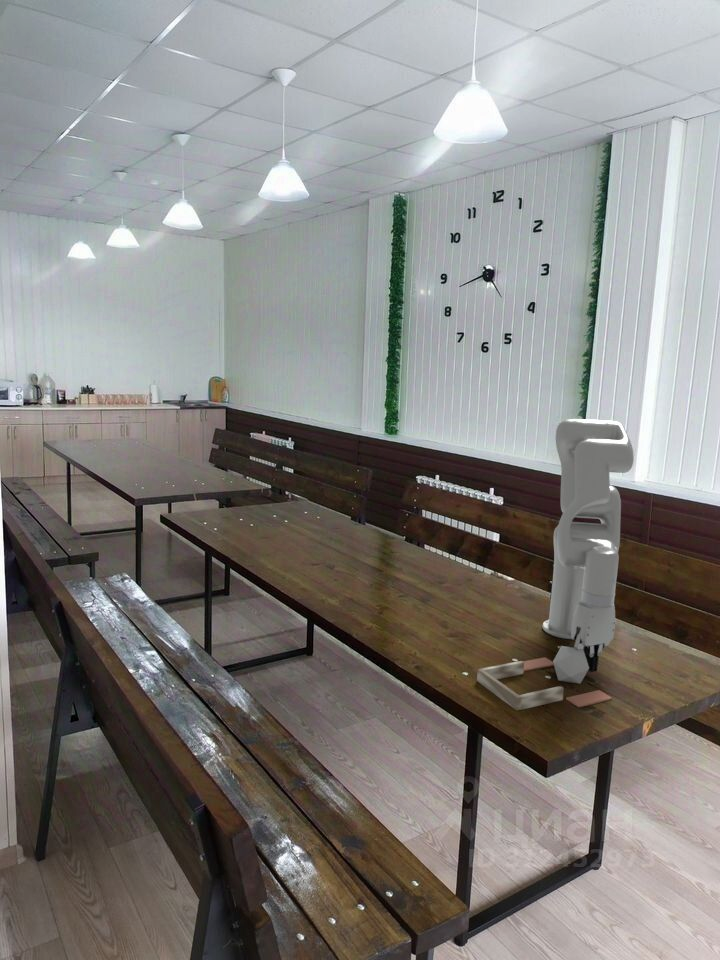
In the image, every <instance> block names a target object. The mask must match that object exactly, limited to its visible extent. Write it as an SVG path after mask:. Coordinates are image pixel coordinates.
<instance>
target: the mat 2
mask: <svg viewBox="0 0 720 960" xmlns="http://www.w3.org/2000/svg"><path fill="white" fill-rule="evenodd" d="M612 699H613V698H612V697H611V696H610V695H608V694H606V693H605V692H603V691H602V690H600V689H598V690H594V691H589V692H585V693H581V694H576V695H572V696H569V697H568V696H567V697H565V700H566V701H568V702H569V703H571V704H572V705H574V706H576V707H577V708H582V707H586V706H591V705H594V704H598V703H604V702H607V701H611V700H612Z"/></svg>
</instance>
